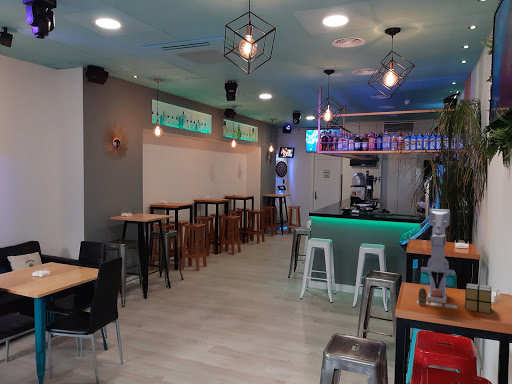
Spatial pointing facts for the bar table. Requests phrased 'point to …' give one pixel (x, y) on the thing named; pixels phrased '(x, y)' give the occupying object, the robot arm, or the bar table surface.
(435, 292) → the button
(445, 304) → the board
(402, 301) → the bar table surface
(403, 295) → the bar table surface
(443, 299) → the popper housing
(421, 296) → the pawn
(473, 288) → the puzzle cube
